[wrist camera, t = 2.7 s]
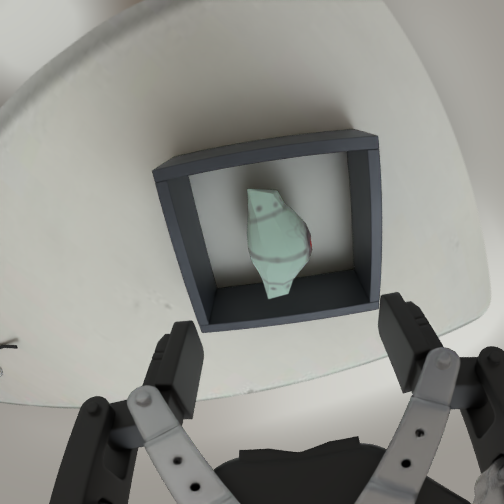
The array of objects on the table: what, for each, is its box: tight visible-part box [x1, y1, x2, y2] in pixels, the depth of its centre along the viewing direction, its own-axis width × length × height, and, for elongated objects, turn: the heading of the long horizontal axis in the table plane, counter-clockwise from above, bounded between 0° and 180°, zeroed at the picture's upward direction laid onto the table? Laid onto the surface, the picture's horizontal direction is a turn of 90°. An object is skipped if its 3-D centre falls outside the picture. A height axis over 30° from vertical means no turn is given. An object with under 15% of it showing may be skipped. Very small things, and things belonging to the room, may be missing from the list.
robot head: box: [247, 189, 312, 299], centre depth 21 cm, size 8×4×7 cm, turn 10°
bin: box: [152, 129, 382, 333], centre depth 22 cm, size 14×13×5 cm
